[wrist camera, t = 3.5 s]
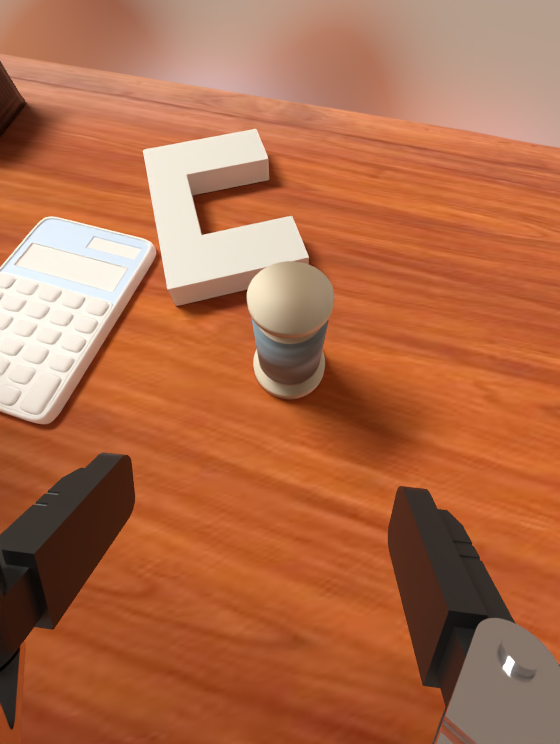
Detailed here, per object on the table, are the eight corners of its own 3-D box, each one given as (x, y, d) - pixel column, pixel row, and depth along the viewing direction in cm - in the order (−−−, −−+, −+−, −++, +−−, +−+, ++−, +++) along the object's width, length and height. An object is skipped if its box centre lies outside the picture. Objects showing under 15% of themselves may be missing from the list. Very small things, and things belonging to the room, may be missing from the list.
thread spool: (264, 407, 28) (253, 350, 19) (247, 345, 30) (230, 268, 21) (333, 388, 28) (356, 324, 19) (311, 329, 31) (322, 247, 22)
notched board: (175, 306, 32) (167, 289, 30) (150, 171, 40) (142, 149, 38) (307, 275, 33) (309, 257, 31) (257, 150, 41) (256, 128, 39)
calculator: (-77, 384, 30) (-99, 376, 28) (53, 224, 37) (42, 210, 36) (54, 430, 28) (39, 424, 26) (163, 252, 36) (156, 238, 34)
